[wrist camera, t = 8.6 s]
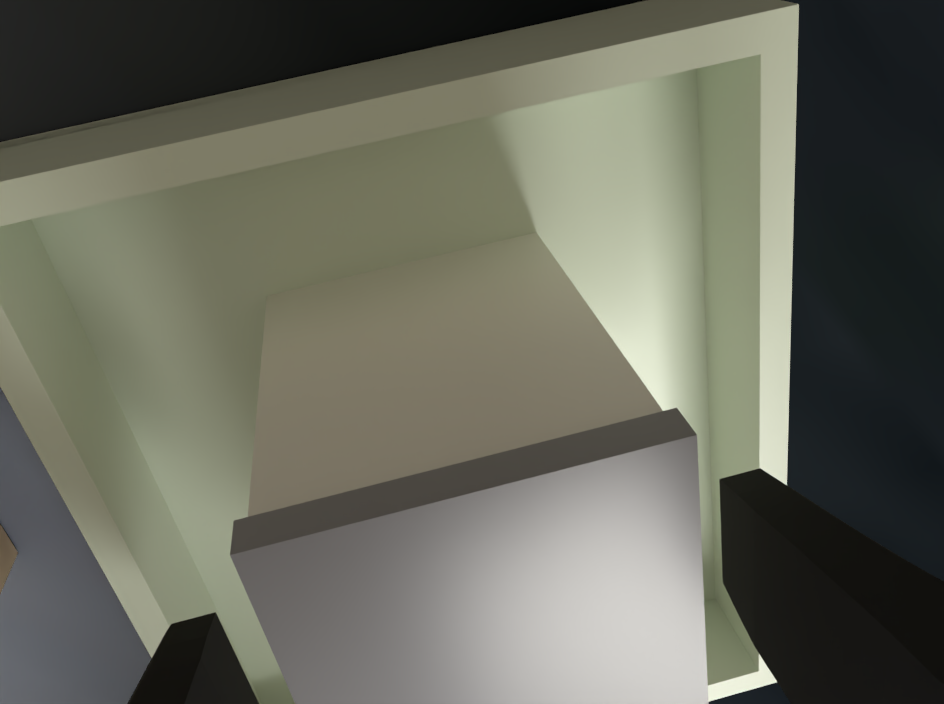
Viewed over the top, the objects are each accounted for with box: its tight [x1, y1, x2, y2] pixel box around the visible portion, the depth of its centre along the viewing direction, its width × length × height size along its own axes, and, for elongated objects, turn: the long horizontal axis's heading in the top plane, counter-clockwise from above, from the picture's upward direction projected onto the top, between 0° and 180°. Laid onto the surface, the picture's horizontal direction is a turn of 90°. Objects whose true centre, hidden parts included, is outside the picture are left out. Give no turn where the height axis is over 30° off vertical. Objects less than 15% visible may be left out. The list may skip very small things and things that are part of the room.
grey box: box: [230, 232, 708, 704], centre depth 12 cm, size 8×5×6 cm, turn 10°
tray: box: [0, 0, 799, 704], centre depth 14 cm, size 13×11×2 cm
